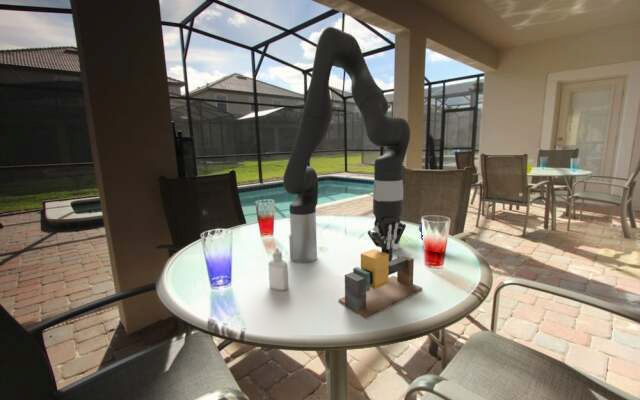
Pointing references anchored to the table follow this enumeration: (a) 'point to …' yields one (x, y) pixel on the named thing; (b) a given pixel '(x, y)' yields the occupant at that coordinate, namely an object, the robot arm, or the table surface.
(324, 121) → the robot arm
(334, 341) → the table surface
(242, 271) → the table surface
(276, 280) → the eye dropper bottle
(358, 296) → the wooden slider rail stand
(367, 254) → the yellow slider block
